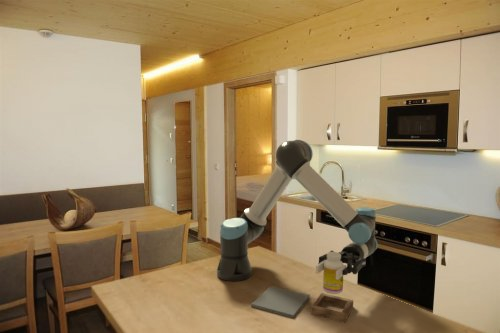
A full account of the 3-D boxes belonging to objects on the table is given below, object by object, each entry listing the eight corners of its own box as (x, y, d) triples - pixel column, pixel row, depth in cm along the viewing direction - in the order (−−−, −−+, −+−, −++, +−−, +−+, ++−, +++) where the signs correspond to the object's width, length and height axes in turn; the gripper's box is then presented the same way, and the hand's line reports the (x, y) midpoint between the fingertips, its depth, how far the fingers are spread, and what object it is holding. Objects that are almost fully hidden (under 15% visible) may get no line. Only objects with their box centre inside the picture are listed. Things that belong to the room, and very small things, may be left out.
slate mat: (251, 306, 125) (251, 303, 125) (270, 288, 139) (270, 286, 138) (293, 318, 117) (293, 315, 117) (309, 297, 131) (309, 295, 131)
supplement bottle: (343, 295, 117) (344, 258, 115) (322, 293, 118) (324, 257, 117) (342, 286, 123) (343, 251, 122) (322, 285, 125) (323, 250, 123)
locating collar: (310, 313, 119) (311, 306, 119) (321, 299, 129) (321, 292, 129) (344, 322, 114) (345, 315, 114) (353, 306, 124) (353, 300, 124)
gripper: (380, 269, 128) (354, 292, 110) (330, 256, 140) (300, 275, 123) (380, 249, 127) (355, 269, 109) (331, 238, 139) (301, 254, 122)
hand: (326, 272), depth 116 cm, fingers closed on supplement bottle, 7 cm apart
